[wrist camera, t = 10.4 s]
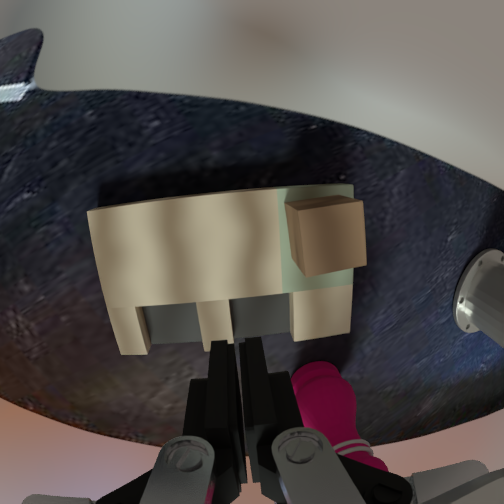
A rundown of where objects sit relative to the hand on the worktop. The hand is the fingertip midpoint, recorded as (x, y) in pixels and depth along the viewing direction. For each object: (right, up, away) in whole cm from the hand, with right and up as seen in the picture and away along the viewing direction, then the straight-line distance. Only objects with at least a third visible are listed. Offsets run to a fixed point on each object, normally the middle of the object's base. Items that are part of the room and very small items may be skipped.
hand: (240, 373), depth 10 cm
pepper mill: (+8, -11, +25) cm, 28 cm away
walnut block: (+6, +6, +17) cm, 19 cm away
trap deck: (-2, +2, +20) cm, 20 cm away
